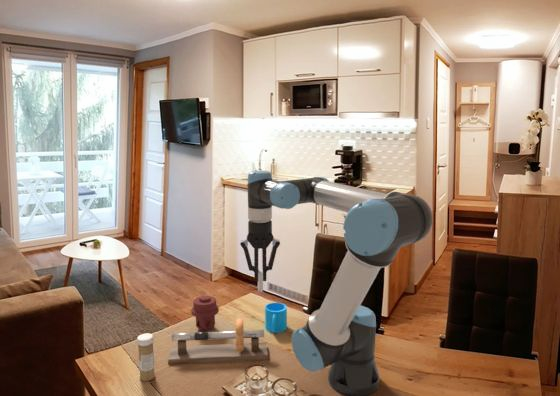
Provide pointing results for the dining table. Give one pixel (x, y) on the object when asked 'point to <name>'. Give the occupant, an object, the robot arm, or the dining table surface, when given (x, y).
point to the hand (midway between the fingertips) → (260, 290)
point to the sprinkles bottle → (146, 356)
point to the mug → (275, 317)
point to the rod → (216, 335)
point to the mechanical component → (205, 312)
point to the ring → (239, 335)
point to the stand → (217, 352)
